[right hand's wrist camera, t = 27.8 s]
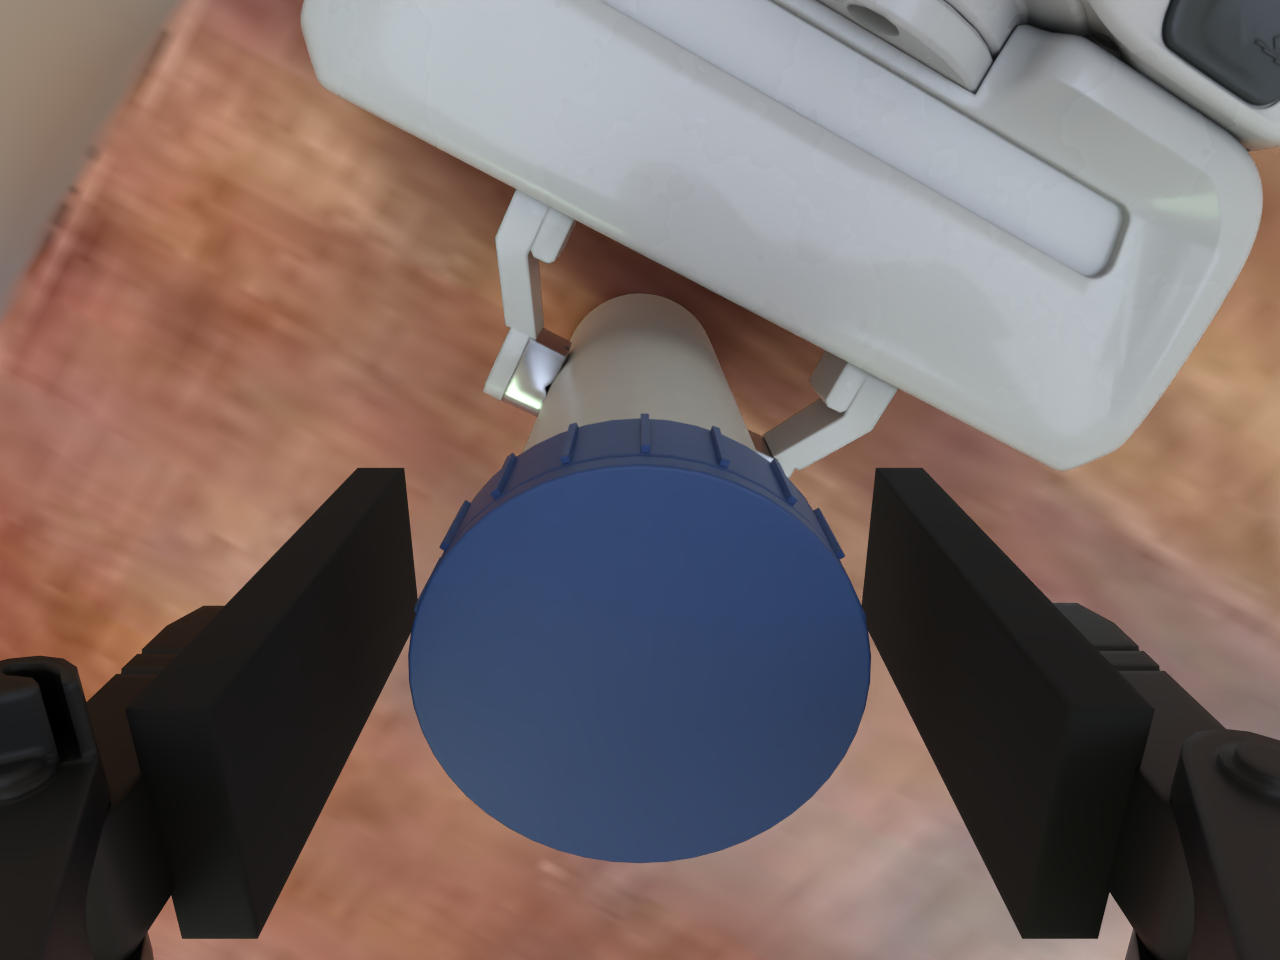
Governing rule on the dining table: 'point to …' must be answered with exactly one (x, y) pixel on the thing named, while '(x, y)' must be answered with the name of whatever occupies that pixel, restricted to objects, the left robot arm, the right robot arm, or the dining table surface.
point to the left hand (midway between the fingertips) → (625, 454)
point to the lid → (639, 644)
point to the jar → (640, 372)
